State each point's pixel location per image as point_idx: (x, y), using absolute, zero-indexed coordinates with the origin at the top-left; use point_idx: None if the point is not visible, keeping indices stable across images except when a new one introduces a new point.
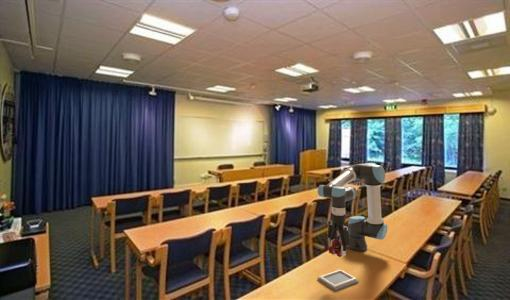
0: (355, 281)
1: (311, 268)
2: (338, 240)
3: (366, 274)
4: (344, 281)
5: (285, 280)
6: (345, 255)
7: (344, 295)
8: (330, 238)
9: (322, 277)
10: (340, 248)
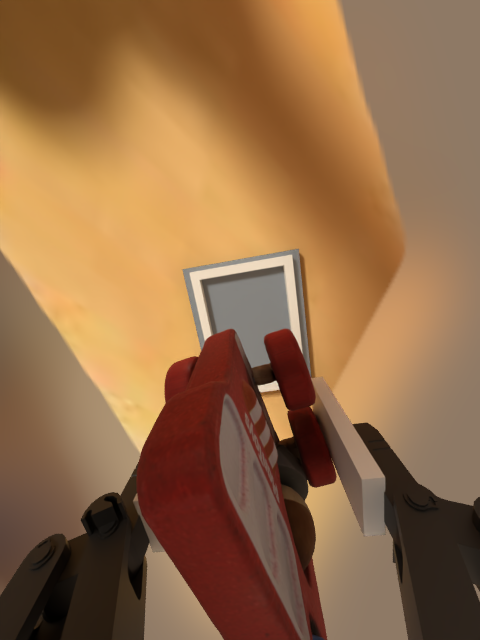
0: (300, 269)
1: (123, 367)
2: (304, 595)
3: (249, 143)
4: (292, 328)
5: None
6: (322, 378)
7: (345, 366)
8: (133, 582)
9: None
10: (265, 416)
